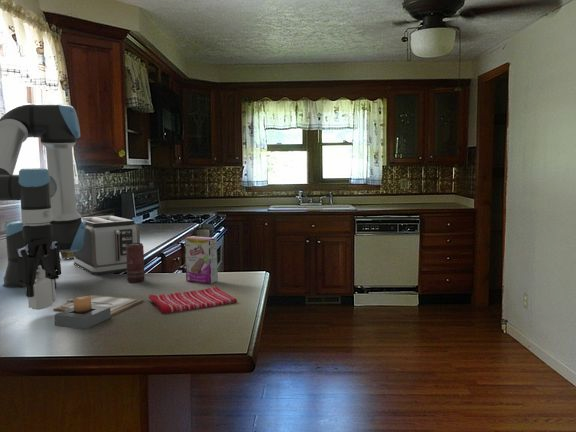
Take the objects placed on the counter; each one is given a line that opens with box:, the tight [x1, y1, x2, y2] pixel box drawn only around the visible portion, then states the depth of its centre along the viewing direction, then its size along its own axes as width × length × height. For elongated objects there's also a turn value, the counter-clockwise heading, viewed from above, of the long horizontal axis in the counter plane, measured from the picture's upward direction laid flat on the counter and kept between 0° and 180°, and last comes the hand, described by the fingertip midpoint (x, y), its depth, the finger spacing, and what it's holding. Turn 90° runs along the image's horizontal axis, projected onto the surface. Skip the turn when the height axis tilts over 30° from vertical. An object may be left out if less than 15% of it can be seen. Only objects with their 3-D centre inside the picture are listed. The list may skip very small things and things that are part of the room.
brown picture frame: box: [53, 294, 145, 317], centre depth 147 cm, size 22×16×1 cm
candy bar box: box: [184, 235, 219, 285], centre depth 176 cm, size 11×5×16 cm, turn 65°
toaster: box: [73, 215, 141, 276], centre depth 204 cm, size 19×35×20 cm, turn 38°
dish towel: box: [148, 286, 238, 315], centre depth 150 cm, size 17×24×3 cm
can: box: [126, 242, 146, 284], centre depth 178 cm, size 6×6×14 cm
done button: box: [72, 295, 91, 311], centre depth 131 cm, size 4×4×3 cm
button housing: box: [53, 305, 112, 330], centre depth 131 cm, size 10×10×3 cm
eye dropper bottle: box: [31, 266, 54, 311], centre depth 137 cm, size 4×6×12 cm
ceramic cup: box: [59, 252, 75, 259], centre depth 227 cm, size 13×10×10 cm
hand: (42, 304), depth 137 cm, fingers closed on eye dropper bottle, 6 cm apart
